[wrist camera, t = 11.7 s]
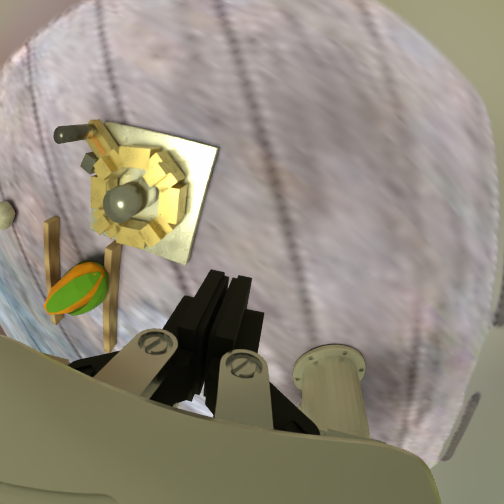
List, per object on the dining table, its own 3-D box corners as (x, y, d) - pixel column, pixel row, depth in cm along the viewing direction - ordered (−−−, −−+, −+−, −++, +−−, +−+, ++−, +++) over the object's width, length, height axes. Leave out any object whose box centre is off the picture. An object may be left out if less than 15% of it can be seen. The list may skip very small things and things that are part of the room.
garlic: (14, 194, 39) (-5, 202, 34) (22, 221, 41) (3, 230, 36) (1, 202, 40) (-17, 210, 36) (8, 227, 42) (-9, 236, 38)
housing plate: (189, 260, 40) (168, 289, 33) (91, 224, 40) (59, 244, 32) (219, 147, 33) (200, 152, 26) (106, 120, 33) (70, 122, 26)
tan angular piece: (206, 204, 35) (184, 225, 27) (139, 254, 38) (111, 281, 31) (125, 93, 30) (87, 88, 22) (70, 155, 34) (31, 164, 26)
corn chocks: (116, 343, 49) (109, 353, 46) (59, 314, 49) (51, 322, 46) (122, 242, 40) (111, 250, 37) (54, 216, 40) (43, 221, 37)
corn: (102, 309, 35) (46, 338, 41) (129, 285, 42) (68, 318, 48) (73, 262, 33) (24, 304, 39) (104, 244, 40) (49, 287, 46)
